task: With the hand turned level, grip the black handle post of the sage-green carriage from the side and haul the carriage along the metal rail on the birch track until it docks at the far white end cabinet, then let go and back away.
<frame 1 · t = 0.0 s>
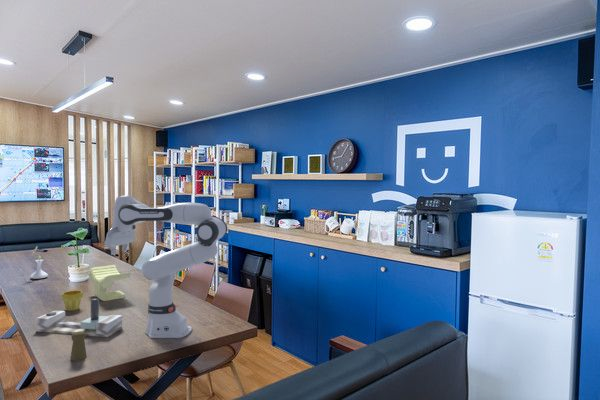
hand: (118, 253, 197), 39 cm above the table, tool pointing down, fingers open, 8 cm apart
olive brown pepper mill: (78, 358, 164), on the table
plant pot: (72, 309, 226), on the table
carriage: (94, 313, 193), point 9 cm above the table, slide at -8.0 cm
rail track: (80, 329, 195), on the table
slatted curved stool: (109, 297, 251), on the table
flower in vase: (38, 278, 293), on the table
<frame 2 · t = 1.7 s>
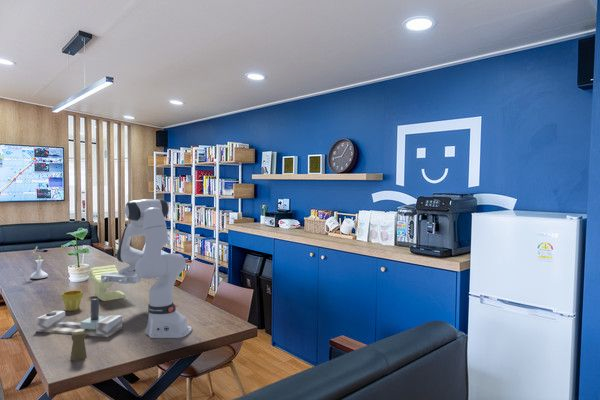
hand: (111, 281, 207), 22 cm above the table, tool horizontal, fingers open, 8 cm apart
nothing on the table moved.
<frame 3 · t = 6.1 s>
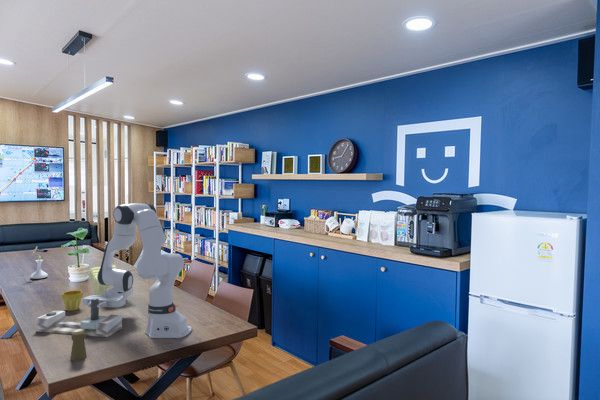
hand: (93, 305, 192), 13 cm above the table, tool horizontal, fingers closed on carriage, 4 cm apart
carriage: (94, 313, 193), point 9 cm above the table, slide at -8.0 cm, touching gripper
everything else where it was.
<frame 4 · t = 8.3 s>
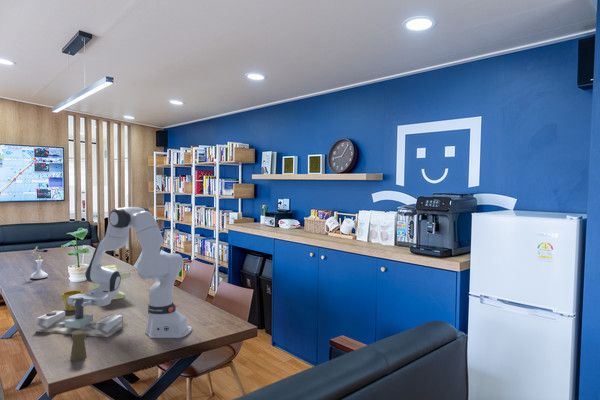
hand: (78, 304, 193), 13 cm above the table, tool horizontal, fingers closed on carriage, 4 cm apart
carriage: (79, 312, 194), point 9 cm above the table, slide at 0.4 cm, touching gripper
everything else where it was.
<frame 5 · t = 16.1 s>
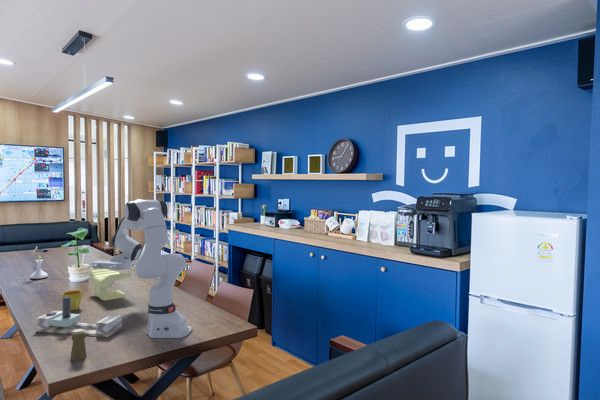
hand: (101, 267, 211), 28 cm above the table, tool horizontal, fingers open, 8 cm apart
carriage: (66, 311, 195), point 9 cm above the table, slide at 7.5 cm
at the end: carriage slide at 7.5 cm; the gripper is holding nothing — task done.
